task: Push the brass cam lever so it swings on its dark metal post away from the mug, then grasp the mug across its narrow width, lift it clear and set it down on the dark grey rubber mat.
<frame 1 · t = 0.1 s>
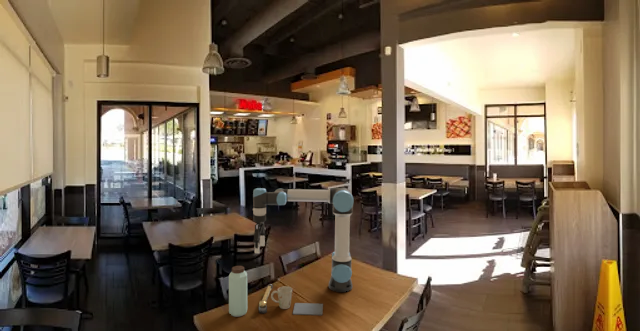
hand: (259, 249, 208), 28 cm above the table, fingers open, 13 cm apart
mat: (308, 309, 193), on the table
cam lever: (266, 294, 200), point 5 cm above the table, hinge at 0.0°
water bottle: (238, 313, 188), on the table
mug: (281, 306, 196), on the table
lever post: (262, 311, 190), on the table
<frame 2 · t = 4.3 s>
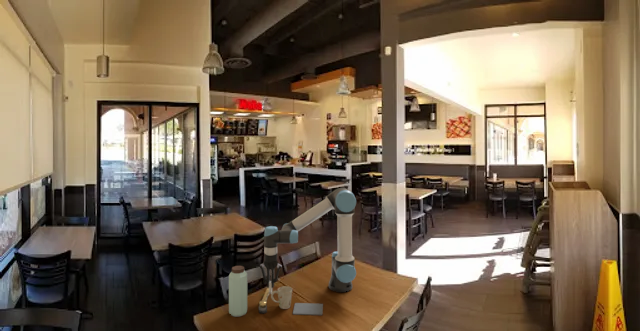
hand: (270, 292, 204), 4 cm above the table, fingers closed
cam lever: (266, 294, 200), point 5 cm above the table, hinge at 0.0°, touching gripper
everything else where it was.
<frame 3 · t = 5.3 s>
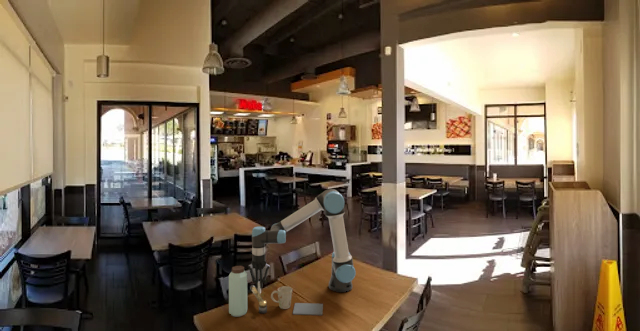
hand: (259, 293, 203), 4 cm above the table, fingers closed
cam lever: (257, 295, 199), point 5 cm above the table, hinge at 27.4°, touching gripper
everything else where it was.
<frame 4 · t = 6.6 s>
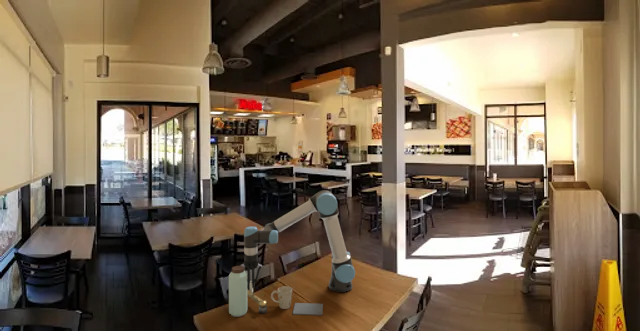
hand: (251, 292, 204), 4 cm above the table, fingers closed
cam lever: (253, 296, 197), point 5 cm above the table, hinge at 41.7°, touching gripper
everything else where it was.
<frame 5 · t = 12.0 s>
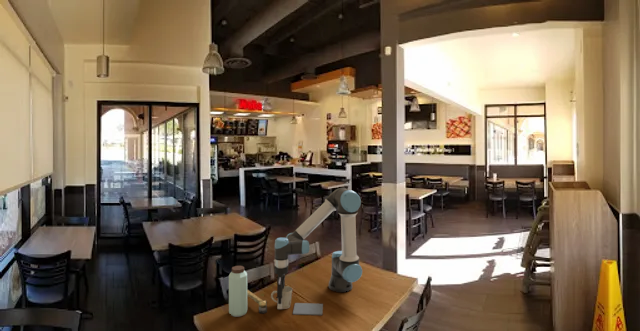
hand: (280, 305, 196), 0 cm above the table, fingers open, 6 cm apart
cam lever: (253, 296, 197), point 4 cm above the table, hinge at 41.7°
mug: (281, 306, 196), on the table, touching gripper
everything else where it was.
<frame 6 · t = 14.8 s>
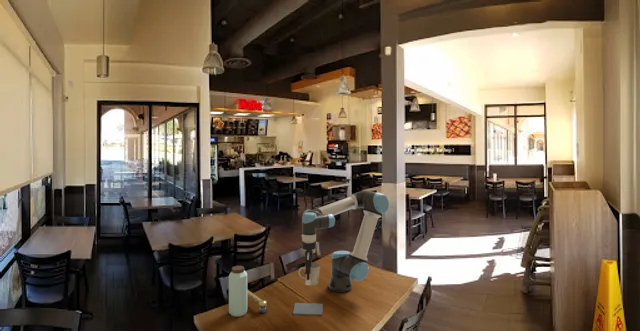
hand: (308, 282, 191), 16 cm above the table, fingers closed on mug, 6 cm apart
mug: (308, 282, 192), point 15 cm above the table, touching gripper
everything else where it was.
when the fingers open (2 cm above the table, at t = 17.4 s): mug stays where it is, resting on mat.
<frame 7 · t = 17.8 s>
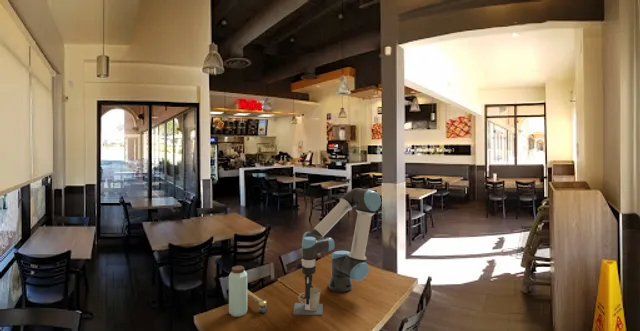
hand: (308, 304, 192), 3 cm above the table, fingers open, 11 cm apart
mug: (308, 308, 193), resting on mat
everything else where it was.
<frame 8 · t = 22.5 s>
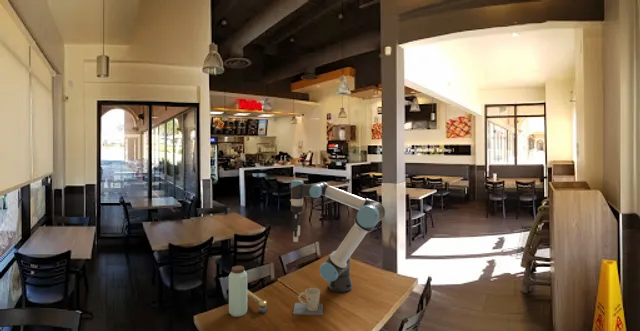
hand: (296, 238, 218), 32 cm above the table, fingers open, 13 cm apart
nothing on the table moved.
at the end: cam lever at +42° (first picture: +0°); mug inside the target area on the mat (0.5 cm from its centre), point 0.4 cm above the mat's base; mug tilted 0° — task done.
